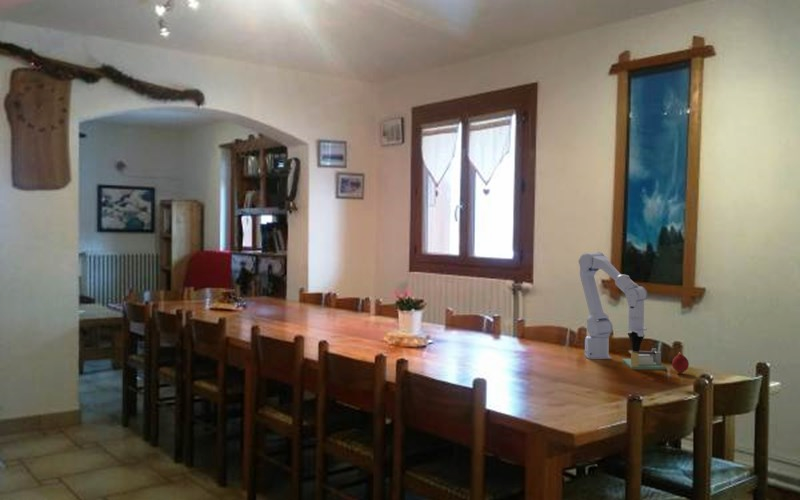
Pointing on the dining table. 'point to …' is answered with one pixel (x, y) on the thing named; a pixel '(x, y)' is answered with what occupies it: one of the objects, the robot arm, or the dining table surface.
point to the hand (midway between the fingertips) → (635, 351)
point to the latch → (634, 359)
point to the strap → (644, 352)
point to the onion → (680, 363)
